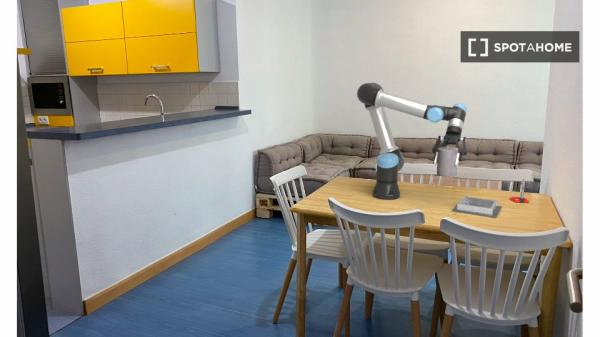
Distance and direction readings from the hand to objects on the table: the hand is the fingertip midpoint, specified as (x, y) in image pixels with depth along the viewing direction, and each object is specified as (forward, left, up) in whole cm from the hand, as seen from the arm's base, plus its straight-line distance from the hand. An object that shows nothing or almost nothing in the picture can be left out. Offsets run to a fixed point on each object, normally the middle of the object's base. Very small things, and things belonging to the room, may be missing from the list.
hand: (445, 164), depth 204 cm
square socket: (+16, +4, -22) cm, 27 cm away
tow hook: (+32, +31, -23) cm, 50 cm away
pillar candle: (0, +3, -6) cm, 7 cm away
